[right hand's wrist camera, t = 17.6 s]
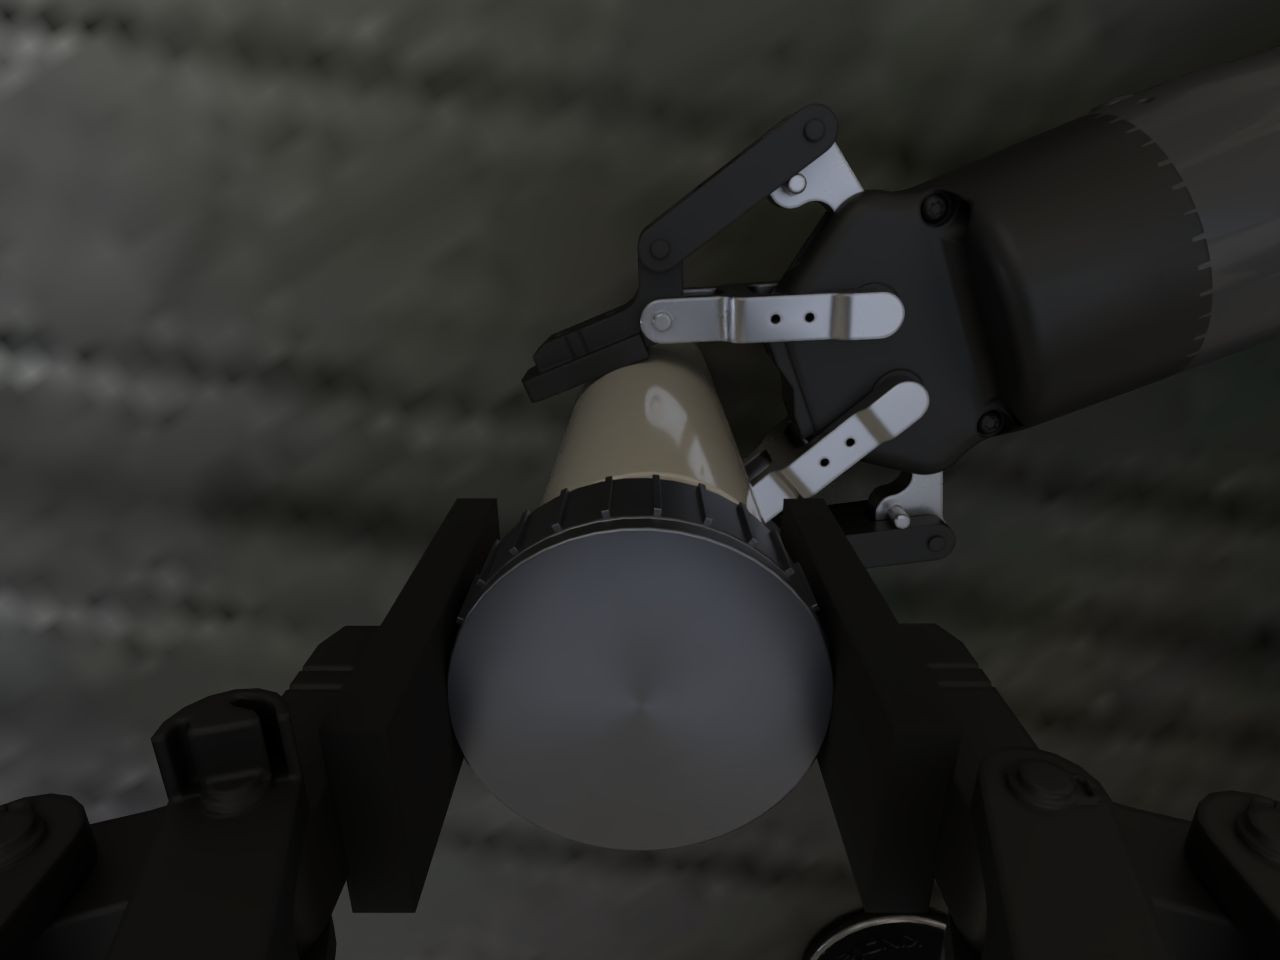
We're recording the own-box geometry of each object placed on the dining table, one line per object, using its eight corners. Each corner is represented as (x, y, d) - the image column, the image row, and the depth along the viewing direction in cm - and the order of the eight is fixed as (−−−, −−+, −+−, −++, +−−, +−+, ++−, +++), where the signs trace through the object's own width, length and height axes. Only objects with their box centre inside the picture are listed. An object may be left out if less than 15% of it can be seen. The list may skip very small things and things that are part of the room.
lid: (601, 816, 14) (595, 907, 12) (395, 594, 12) (354, 662, 10) (873, 668, 12) (911, 746, 11) (688, 400, 11) (697, 440, 9)
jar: (602, 306, 28) (535, 476, 11) (725, 340, 28) (844, 553, 11) (572, 425, 29) (475, 733, 12) (689, 456, 30) (746, 792, 13)
